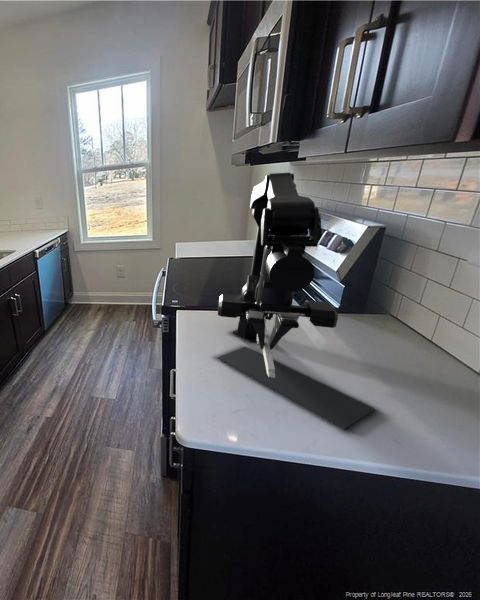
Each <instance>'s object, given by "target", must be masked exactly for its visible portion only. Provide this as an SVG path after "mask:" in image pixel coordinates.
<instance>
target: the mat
mask: <svg viewBox="0 0 480 600" xmlns="http://www.w3.org/2000/svg"><path fill="white" fill-rule="evenodd" d="M217 359H218V360H220V361H221V362H223V363H225V364H227V365H229V366H231V367H232V368H234V369H236V370H237V371H240V372H241V373H243V374H244V375H246V376H248V377H250V378H252V379H254V380H256V381H257V382H259V383H261V384H263V385H264V386H266V387H268V388H269V389H271V390H273V391H275V392H277V393H278V394H280V395H282V396H284V397H286V398H287V399H289V400H290V401H291V400H292V401H293V402H294V403H297V404H298V405H300V406H301V407H303V408H305V409H306V410H309V411H311V412H312V413H314V414H316V415H318V416H319V417H321V418H323V419H325V420H327V421H328V422H330V423H332V424H333V425H336V426H337V427H339V428H341V429H342V430H343V431H345V430H347V429H349V428H350V427H352V426H353V425H355V424H356V423H358V422H359V421H361V420H362V419H364V418H365V417H367V416H369V415H370V414H372V413H373V412H374V411H375V410H376V408H374V407H372V406H370V405H368V404H366V403H364V402H362V401H361V400H357V399H355V398H354V397H351V396H350V395H347V394H345V393H343V392H341V391H339V390H336V389H335V388H333V387H330V386H329V385H326V384H324V383H322V382H320V381H319V380H316V379H314V378H311V377H310V376H307V375H306V374H303V373H301V372H299V371H298V370H295V369H293V368H290V367H288V366H287V365H285V364H284V363H283V364H282V363H280V362H279V361H276V360H274V359H273V363H274V367H275V378H272V377H268V375H267V372H266V366H265V361H264V355H263V353H259V352H257V351H256V350H253V349H252V348H250V347H247V346H243V347H241V348H237V349H235V350H233V351H230V352H227V353H225V354H221V355H219V356H218V357H217Z"/></svg>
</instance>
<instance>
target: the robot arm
mask: <svg viewBox="0 0 480 600" xmlns="http://www.w3.org/2000/svg"><path fill="white" fill-rule="evenodd" d="M294 180H295V174H294V173H291V172H274V173H272V172H271V173H269V174H266V175H265V178H264V180H262V181H261V182H259V183H258V184H256V185H254V186H253V188H252V193H251V197H250V203H249V204H250V205H249V209H250V210H252V211H251V216H252V217H253V220H254V222H255V223H256V233H255V241H254V249H253V255H252V262H251V267H250V268H251V269H250V275H247V279H246V283H245V284H244V286H243V287H242V288H241V294H232V293H231V294H230V293H221V295H220V296H219V298H218V304H217V305H218V307H217V316H219V317H222V318H233V319H236V318H239V319H238V323H237V329H236V330H233V331H232V334H233V335H236V336H237V337H239V338H242V339H244V340H247V341H249V342H251V343H254V342H257V334H258V339H259V343H260V345H259V347H260V350H262V349H263V347H264V340H265V325H266V323H265V320H268V321H271V320H272V319H273V318H274V315H275V319H274V323H273V326H272V330H271V333H270V336H269V338H268V341H269V346H270V350H271V351H272V350H273V349H274V348H275V346H276V345H277V344H278V343H279V341H280V340H281V339H283V337H284V336H285V335H286V334H288V333H289V332H290V331H291V330H292V329H299V327H300V324H299V322H298V320H299V319H300V317H301V318H302V317H303V318H309V322H310V323H311V324H312V325H313V326H314V327H319V328H320V327H321V328H329V329H334V328H337V324H338V320H339V314H338V312H337V311H336V310H335V308H334V307H333V306H332V304H331V303H330V302H329V301H322V300H320V301H319V300H308V299H307V300H305V301H304V302H303V305H295V304H293V300H294V295H295V293H296V292H299V291H302V290H303V289H306V288H307V287H309V285H310V284H311V283H312V282H313V280H314V278H315V272H316V271H315V268H314V265H313V264H312V262H311V260H310V259H308V257H307V256H306V254H305V252H306V247H307V248H309V247H310V248H311V247H312V248H318V244H319V241H320V240H321V239H322V237H323V233H322V216H321V215H322V214H321V213H320V212H319V210H320V209H319V207H318V206H317V207H316V205H315V201H314V200H312V199H311V198H310V197H308V196H302V195H299V192H298V190H297V184H296V183H295V181H294ZM264 317H266V319H265V320H264Z"/></svg>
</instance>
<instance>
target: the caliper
mask: <svg viewBox="0 0 480 600" xmlns="http://www.w3.org/2000/svg"><path fill="white" fill-rule="evenodd" d="M264 320H265V340H264V347H263V349H261V350H262V355H264V361H265V366H266V372H267V375H268V377H272V378H275V367H274V363H273V360H274V359H273V354H272V350H270V346H269V334H268V330H267V325H266V322H267V319H266V317H264ZM256 345H258V346H260V343H259V339H258V334H257V341H256Z"/></svg>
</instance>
